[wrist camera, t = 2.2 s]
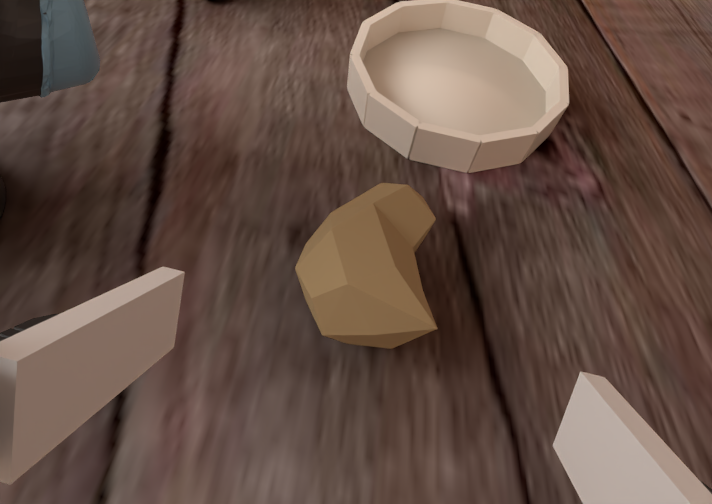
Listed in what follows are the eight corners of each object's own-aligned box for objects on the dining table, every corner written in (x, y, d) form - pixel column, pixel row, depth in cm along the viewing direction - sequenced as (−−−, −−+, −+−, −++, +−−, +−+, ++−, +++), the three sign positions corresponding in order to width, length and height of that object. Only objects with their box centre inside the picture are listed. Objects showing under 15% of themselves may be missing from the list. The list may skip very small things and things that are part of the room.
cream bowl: (327, 140, 48) (329, 107, 44) (373, 16, 60) (377, -18, 57) (550, 192, 47) (571, 163, 43) (549, 55, 59) (566, 24, 56)
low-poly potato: (343, 405, 34) (490, 358, 32) (264, 331, 27) (445, 262, 24) (331, 266, 45) (440, 222, 42) (273, 187, 38) (399, 129, 35)
